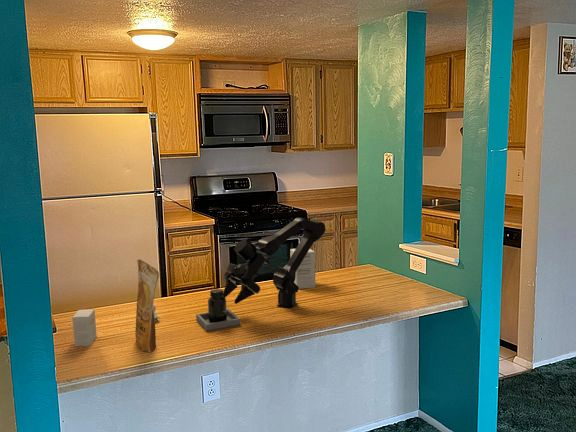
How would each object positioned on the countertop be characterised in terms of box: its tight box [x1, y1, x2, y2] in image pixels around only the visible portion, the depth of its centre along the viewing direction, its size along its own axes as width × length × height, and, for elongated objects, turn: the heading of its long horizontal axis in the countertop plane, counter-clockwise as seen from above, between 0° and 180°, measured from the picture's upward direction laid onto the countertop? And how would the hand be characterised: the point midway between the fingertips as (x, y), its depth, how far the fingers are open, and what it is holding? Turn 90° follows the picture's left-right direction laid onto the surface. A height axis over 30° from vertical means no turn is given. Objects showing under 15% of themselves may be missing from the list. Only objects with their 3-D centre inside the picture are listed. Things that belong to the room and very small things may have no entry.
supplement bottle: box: [207, 288, 228, 323], centre depth 205 cm, size 7×7×12 cm
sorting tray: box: [195, 308, 241, 332], centre depth 205 cm, size 13×13×2 cm
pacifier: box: [152, 304, 160, 322], centre depth 209 cm, size 7×6×6 cm
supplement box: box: [289, 248, 316, 290], centre depth 250 cm, size 10×9×17 cm
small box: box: [72, 308, 98, 347], centre depth 189 cm, size 8×6×10 cm
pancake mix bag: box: [134, 259, 160, 353], centre depth 185 cm, size 7×19×28 cm, turn 26°
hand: (228, 300), depth 207 cm, fingers open, 9 cm apart
